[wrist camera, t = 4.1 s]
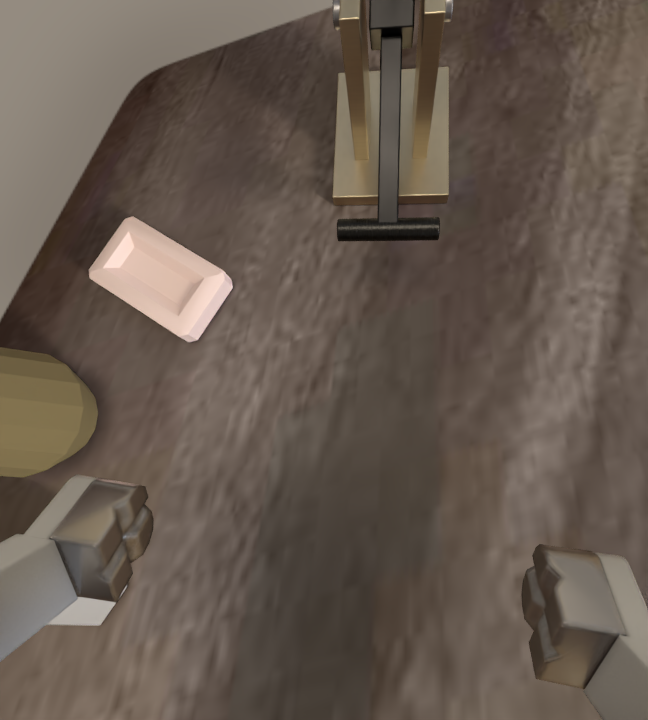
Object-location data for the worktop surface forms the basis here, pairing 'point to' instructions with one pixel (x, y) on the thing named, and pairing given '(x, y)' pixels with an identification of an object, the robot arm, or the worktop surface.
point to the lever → (389, 131)
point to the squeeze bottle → (41, 412)
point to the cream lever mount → (418, 112)
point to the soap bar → (161, 279)
